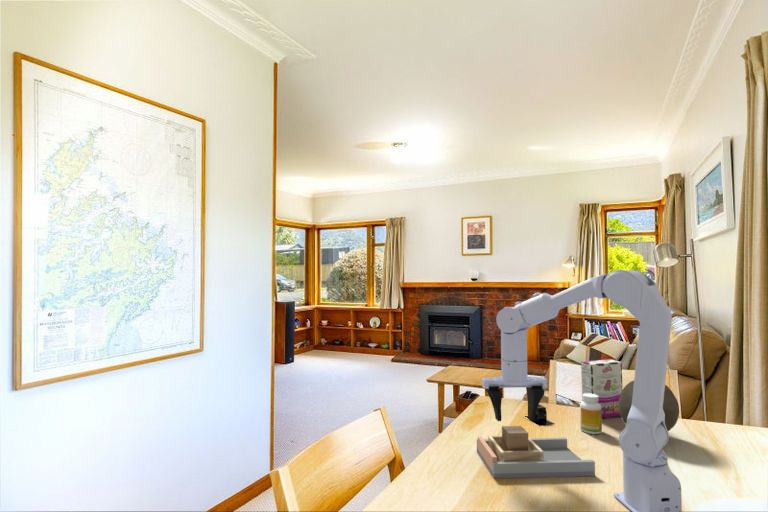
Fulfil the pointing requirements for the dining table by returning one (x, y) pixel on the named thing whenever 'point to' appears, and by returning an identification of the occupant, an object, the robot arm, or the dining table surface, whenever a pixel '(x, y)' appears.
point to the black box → (541, 417)
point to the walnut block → (514, 438)
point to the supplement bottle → (590, 414)
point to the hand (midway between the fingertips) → (514, 419)
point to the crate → (508, 456)
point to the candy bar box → (603, 384)
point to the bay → (554, 465)
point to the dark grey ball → (668, 405)
